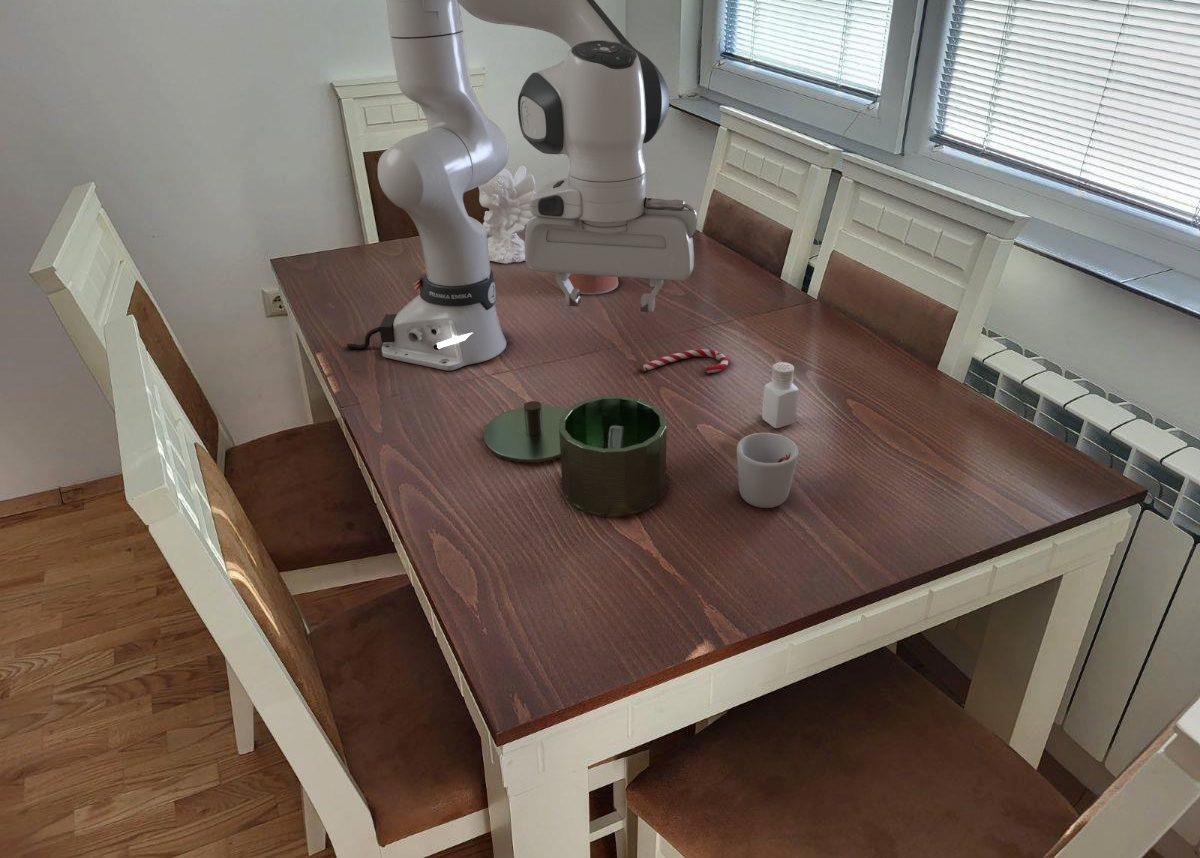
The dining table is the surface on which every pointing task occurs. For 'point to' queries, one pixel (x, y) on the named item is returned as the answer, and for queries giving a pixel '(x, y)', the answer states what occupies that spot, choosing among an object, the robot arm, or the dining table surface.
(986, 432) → the dining table surface
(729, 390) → the dining table surface
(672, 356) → the candy cane
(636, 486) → the tin
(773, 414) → the pepper shaker
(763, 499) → the cup
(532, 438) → the tin lid
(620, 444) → the lighter
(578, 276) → the canned food
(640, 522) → the dining table surface
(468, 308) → the robot arm
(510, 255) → the cherub figurine
